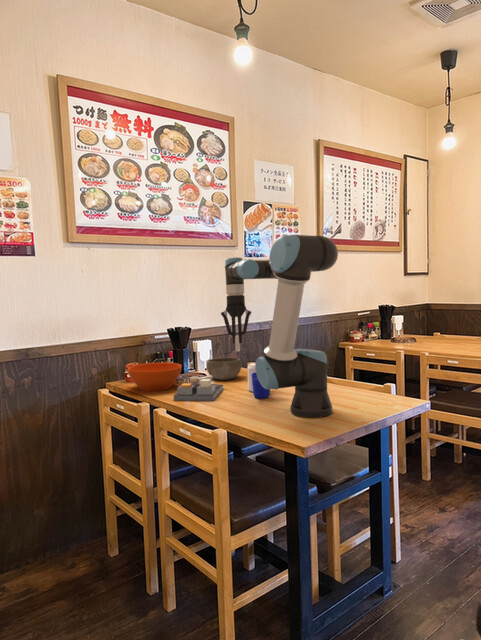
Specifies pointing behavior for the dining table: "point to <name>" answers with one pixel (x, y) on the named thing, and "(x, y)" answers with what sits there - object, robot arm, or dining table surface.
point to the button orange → (186, 385)
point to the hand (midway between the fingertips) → (237, 351)
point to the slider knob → (194, 381)
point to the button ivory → (205, 383)
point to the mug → (259, 388)
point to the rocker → (205, 377)
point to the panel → (198, 393)
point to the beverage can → (251, 370)
